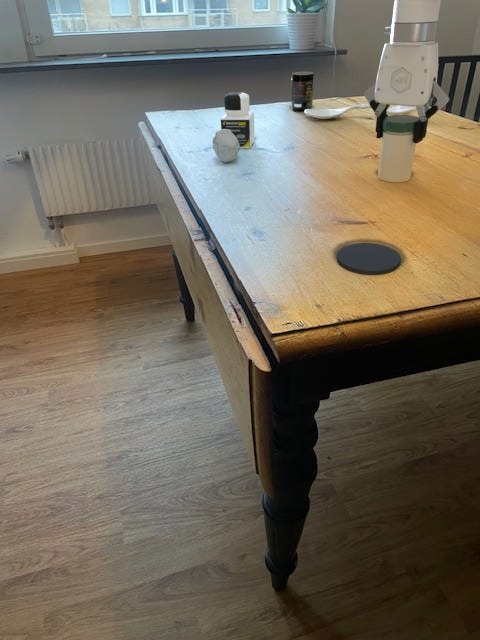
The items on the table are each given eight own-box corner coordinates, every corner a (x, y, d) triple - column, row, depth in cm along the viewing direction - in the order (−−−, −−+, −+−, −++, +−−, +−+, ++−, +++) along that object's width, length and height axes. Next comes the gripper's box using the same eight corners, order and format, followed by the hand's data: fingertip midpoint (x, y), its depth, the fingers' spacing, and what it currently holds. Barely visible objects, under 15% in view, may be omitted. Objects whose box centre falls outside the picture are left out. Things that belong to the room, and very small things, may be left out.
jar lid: (393, 134, 93) (395, 124, 92) (375, 126, 98) (376, 116, 97) (426, 130, 94) (428, 120, 93) (406, 122, 100) (408, 113, 99)
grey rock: (231, 155, 119) (230, 124, 115) (245, 162, 114) (244, 130, 110) (208, 160, 117) (206, 128, 113) (222, 167, 112) (220, 135, 108)
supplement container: (315, 107, 159) (316, 71, 153) (308, 112, 154) (310, 75, 148) (295, 107, 162) (295, 71, 156) (288, 111, 156) (288, 74, 151)
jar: (406, 171, 104) (413, 118, 98) (414, 182, 99) (422, 126, 93) (375, 172, 104) (380, 119, 98) (381, 182, 99) (387, 127, 93)
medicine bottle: (222, 148, 124) (218, 96, 118) (227, 140, 130) (225, 90, 124) (250, 148, 123) (248, 96, 116) (254, 141, 129) (253, 90, 122)
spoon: (419, 118, 142) (421, 105, 140) (305, 123, 143) (306, 110, 141) (410, 111, 149) (412, 99, 147) (302, 116, 150) (303, 103, 148)
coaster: (393, 245, 76) (393, 241, 75) (406, 274, 68) (407, 270, 68) (333, 246, 76) (333, 243, 76) (340, 275, 69) (340, 271, 69)
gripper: (357, 35, 90) (349, 138, 100) (456, 37, 80) (436, 150, 90) (376, 31, 94) (366, 129, 104) (471, 32, 85) (450, 140, 95)
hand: (399, 138), depth 97 cm, fingers closed on jar lid, 6 cm apart
